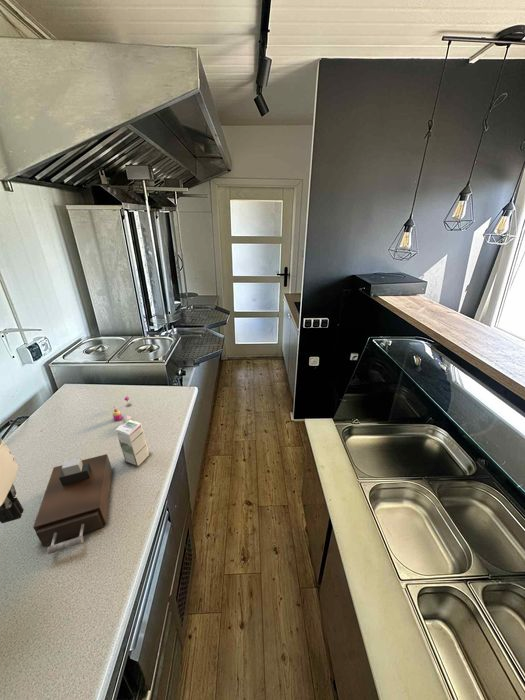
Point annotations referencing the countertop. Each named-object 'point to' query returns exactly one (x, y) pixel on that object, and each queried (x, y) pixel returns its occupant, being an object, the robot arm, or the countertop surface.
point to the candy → (118, 415)
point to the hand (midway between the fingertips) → (13, 516)
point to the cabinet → (77, 494)
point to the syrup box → (132, 442)
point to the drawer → (68, 531)
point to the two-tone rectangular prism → (74, 471)
